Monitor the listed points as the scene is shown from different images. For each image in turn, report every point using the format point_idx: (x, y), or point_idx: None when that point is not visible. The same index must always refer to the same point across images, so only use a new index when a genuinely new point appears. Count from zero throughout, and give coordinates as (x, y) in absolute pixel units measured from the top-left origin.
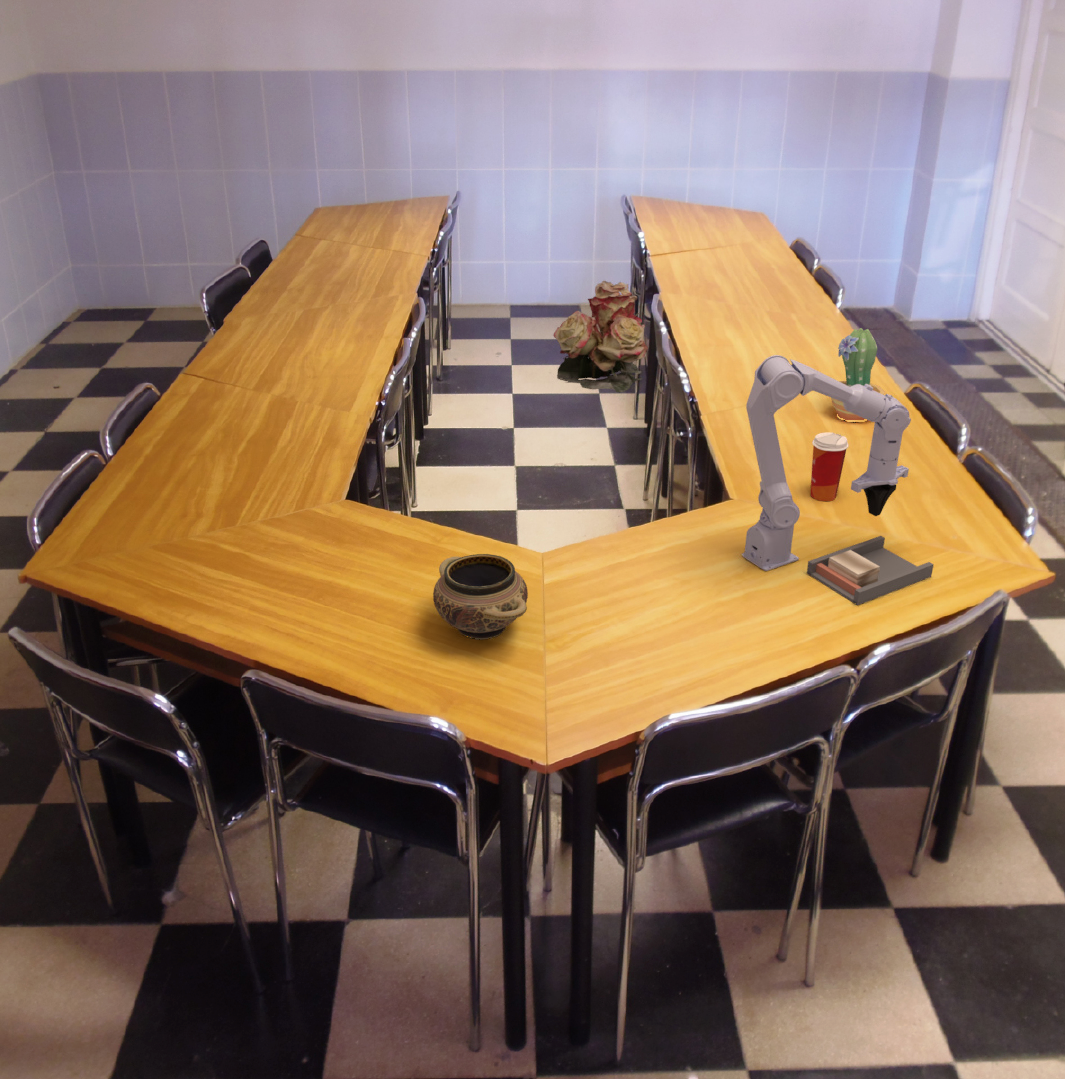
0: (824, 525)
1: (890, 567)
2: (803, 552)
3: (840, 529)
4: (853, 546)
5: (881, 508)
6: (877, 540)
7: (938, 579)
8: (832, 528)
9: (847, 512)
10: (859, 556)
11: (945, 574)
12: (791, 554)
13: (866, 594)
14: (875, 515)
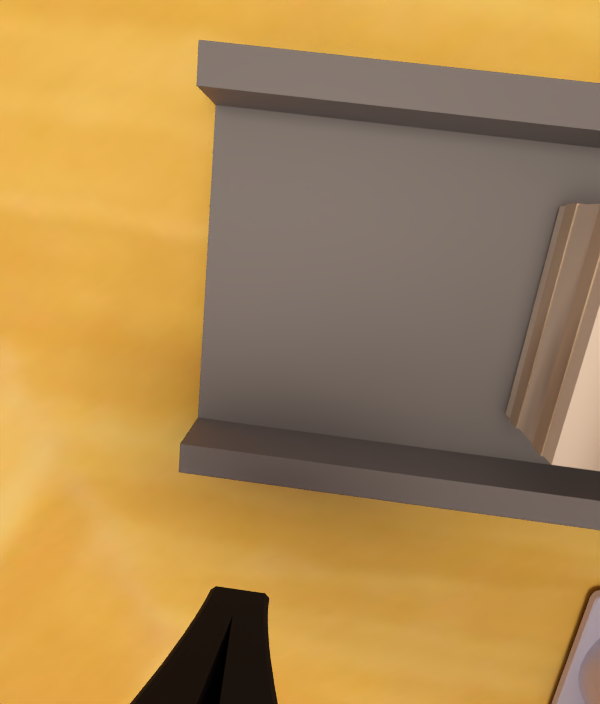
0: None
1: (341, 270)
2: (509, 611)
3: None
4: (403, 493)
5: (211, 642)
6: (239, 452)
7: (210, 22)
8: None
9: (70, 679)
10: (593, 380)
11: (130, 34)
12: (595, 632)
13: None
14: (268, 602)
